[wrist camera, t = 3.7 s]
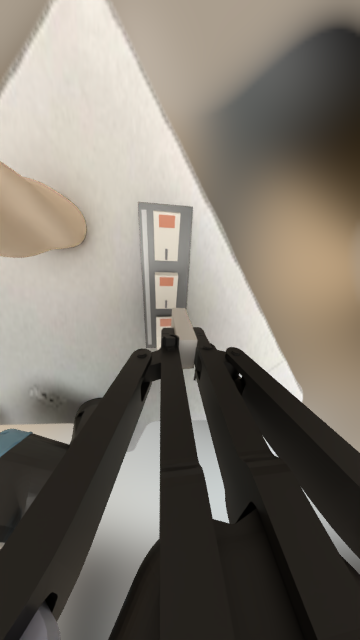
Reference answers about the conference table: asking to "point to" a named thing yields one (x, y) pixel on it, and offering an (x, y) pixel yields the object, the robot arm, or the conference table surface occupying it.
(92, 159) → the conference table surface
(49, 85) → the conference table surface
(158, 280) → the rocker
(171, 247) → the rocker
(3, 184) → the water bottle
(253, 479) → the robot arm
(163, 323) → the rocker
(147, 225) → the power strip
